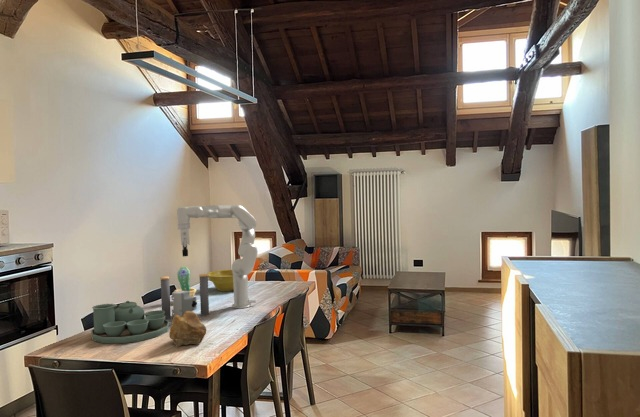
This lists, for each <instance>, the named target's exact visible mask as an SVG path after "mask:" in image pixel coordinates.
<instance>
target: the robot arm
mask: <svg viewBox="0 0 640 417" xmlns="http://www.w3.org/2000/svg"><path fill="white" fill-rule="evenodd" d="M176 217H177V218H176V219H177V230H179V235H180V236H179V237H180V244H181V246H182V253H181V254H182V257H188V256H189V250H188V249H189V248H188V245H190V229H191V219H193V218H194V219H200V218H210V219H237V220H238V222H237V223H238V227H239V228H240V229H241V232H242V235H241V240H240V243H239V246H238V250H237V252H238V256H240V257H241V258H236V259H235V260H234V261H233V262H232V265H231V270H232V272H233V282H234V290H233V304H232V305H231V308H233V309H245V308H250V307H251V306H252V304H255V303H256V299H250V298H249V278H248V275H251V273H252V272H253V270H254V267H255V263H256V260H257V257H258V248H257V247H256V245H254V244H255V240H256V231H255V228H256V227H257V225H258V222H257V220H256V218H255V217H254V215H252V214H251V213H250V212H249V211H248V210H247V209H246V208H245V207H243V206H242V205H241V204H237V205H236V204H235V205H234V204H215V205H191V206H179V207H177V209H176Z"/></svg>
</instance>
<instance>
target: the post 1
mask: <svg viewBox="0 0 640 417" xmlns="http://www.w3.org/2000/svg"><path fill="white" fill-rule="evenodd" d="M170 287H171V286H170V276H161V277H160V295H161V296H160V297H161V298H160V299H161V300H160V301H161V311H165V313H164V316H165V320H169V319H171V315H172V312H171V289H170Z"/></svg>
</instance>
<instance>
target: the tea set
mask: <svg viewBox="0 0 640 417" xmlns="http://www.w3.org/2000/svg"><path fill="white" fill-rule="evenodd" d="M137 304H138V303H137V302H135V301H130V300H126V301H125V302H121V303H120V304H114V303H102V304H96V305H93V306H92V307H91V309H92V313H93V315H92V316H93V329H91V330H90V332H91V339H92V340H93V341H94V342H98V343H102V344H127V343H134V342H141V341H145V340H149V339H153V338H156V337H157V338H158V337H159V336H161V335H163V334H164V333H167V332H168V330H169V327H170V321H169V320H168V319H165V316H164V313H165V311H162V309H161V310H158V309H157V310H150V311H147V312H145V310H144V309H143V308H142V307H141V306H140V305H137ZM117 306H118V307H117Z"/></svg>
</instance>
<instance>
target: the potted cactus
mask: <svg viewBox="0 0 640 417" xmlns="http://www.w3.org/2000/svg"><path fill="white" fill-rule="evenodd" d="M177 280H178V282H179V285H180V288H177V289H175V290H174V291H173V292H176V291H189V292H190V297H195V294H196V292H197V289H196V288H192V287H191V283H190V282H191V281H190V280H191V271H190V269H189V268H188V267H187V265H186V266H184V265H183V266H180V268H179V269H178V271H177Z"/></svg>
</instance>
